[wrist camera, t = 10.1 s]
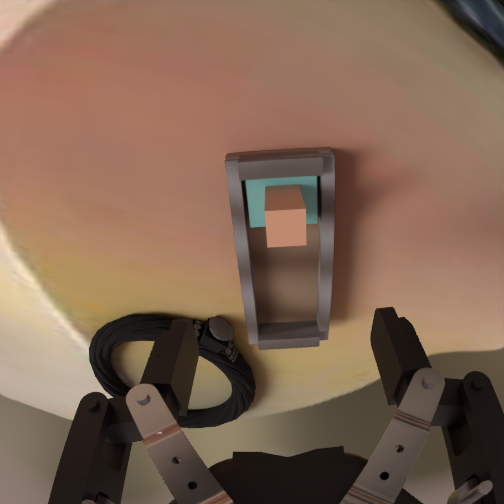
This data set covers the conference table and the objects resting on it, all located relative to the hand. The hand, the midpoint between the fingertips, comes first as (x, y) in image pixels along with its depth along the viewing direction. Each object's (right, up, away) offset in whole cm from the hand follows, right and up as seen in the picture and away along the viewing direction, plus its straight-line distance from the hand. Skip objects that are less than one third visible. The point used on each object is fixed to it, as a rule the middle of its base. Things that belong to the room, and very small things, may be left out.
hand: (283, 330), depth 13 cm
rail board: (+2, +4, +22) cm, 22 cm away
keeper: (+2, +9, +17) cm, 19 cm away
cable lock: (-14, -15, +34) cm, 40 cm away
